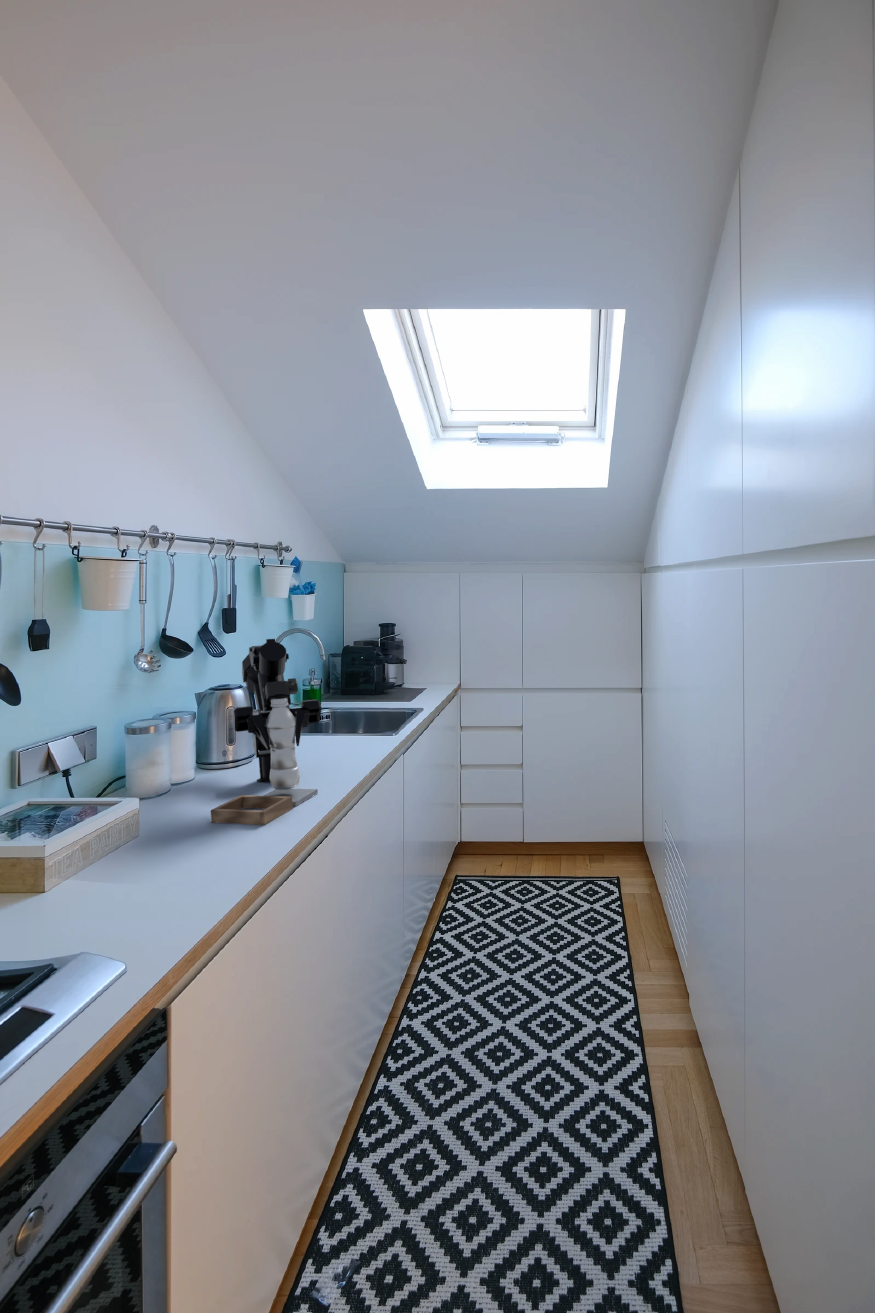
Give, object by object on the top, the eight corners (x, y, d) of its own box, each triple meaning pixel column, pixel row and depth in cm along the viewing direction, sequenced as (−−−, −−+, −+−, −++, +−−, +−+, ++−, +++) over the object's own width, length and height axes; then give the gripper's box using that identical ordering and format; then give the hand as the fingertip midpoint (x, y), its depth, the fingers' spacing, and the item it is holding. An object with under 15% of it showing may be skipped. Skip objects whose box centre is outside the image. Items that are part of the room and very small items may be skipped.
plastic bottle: (300, 783, 168) (294, 694, 166) (300, 791, 161) (294, 698, 159) (271, 786, 166) (264, 696, 165) (269, 794, 160) (262, 701, 158)
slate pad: (254, 805, 161) (253, 800, 160) (277, 792, 170) (277, 788, 170) (296, 806, 157) (295, 801, 157) (317, 793, 167) (317, 789, 167)
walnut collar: (211, 822, 149) (210, 810, 149) (242, 806, 160) (241, 795, 160) (265, 825, 146) (264, 812, 145) (292, 808, 156) (291, 796, 156)
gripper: (230, 670, 162) (238, 729, 153) (317, 663, 168) (329, 720, 159) (230, 702, 170) (238, 760, 161) (313, 694, 176) (325, 749, 167)
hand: (283, 746), depth 162 cm, fingers closed on plastic bottle, 6 cm apart
